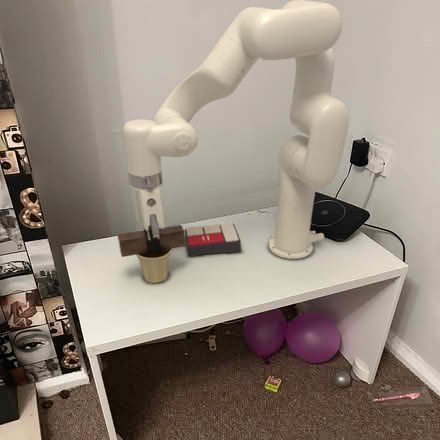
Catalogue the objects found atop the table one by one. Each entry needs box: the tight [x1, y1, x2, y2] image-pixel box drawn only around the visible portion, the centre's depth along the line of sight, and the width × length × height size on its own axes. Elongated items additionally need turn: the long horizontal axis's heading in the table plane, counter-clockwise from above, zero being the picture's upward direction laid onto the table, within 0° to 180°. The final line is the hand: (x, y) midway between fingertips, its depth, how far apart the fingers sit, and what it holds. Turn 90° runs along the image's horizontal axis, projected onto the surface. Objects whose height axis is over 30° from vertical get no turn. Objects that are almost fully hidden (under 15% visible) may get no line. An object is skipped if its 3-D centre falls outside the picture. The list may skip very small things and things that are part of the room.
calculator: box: [184, 222, 242, 257], centre depth 127 cm, size 11×4×15 cm
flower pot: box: [136, 249, 173, 284], centre depth 113 cm, size 9×9×9 cm
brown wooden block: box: [117, 224, 186, 258], centre depth 109 cm, size 16×3×5 cm, turn 109°
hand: (152, 247), depth 110 cm, fingers closed on brown wooden block, 3 cm apart
